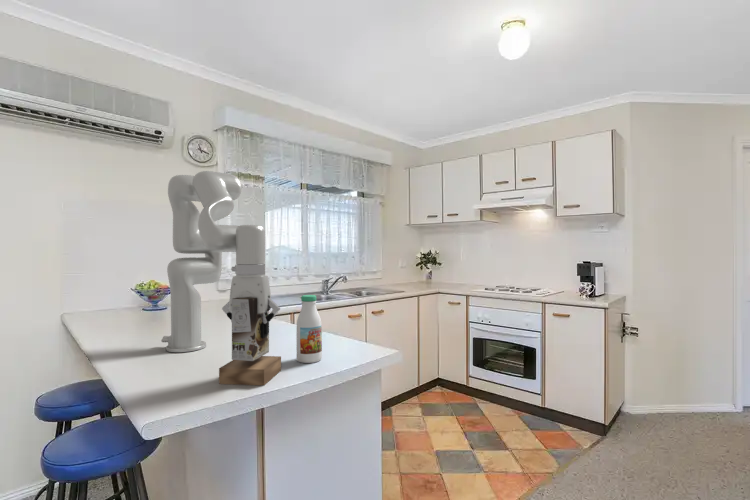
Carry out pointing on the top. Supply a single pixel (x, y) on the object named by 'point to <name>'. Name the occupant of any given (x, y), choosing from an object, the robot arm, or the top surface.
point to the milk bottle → (309, 331)
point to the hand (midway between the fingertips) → (251, 336)
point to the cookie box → (247, 330)
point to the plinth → (250, 371)
